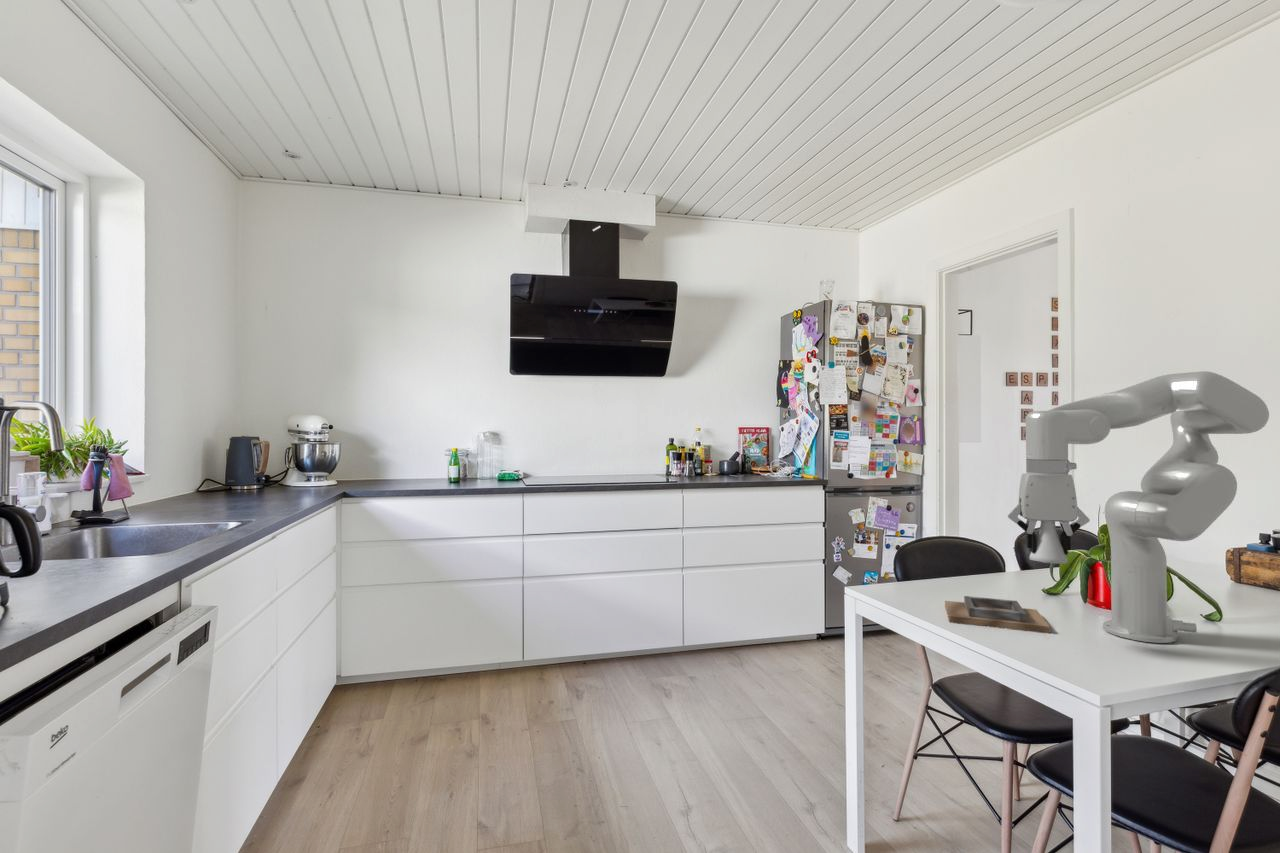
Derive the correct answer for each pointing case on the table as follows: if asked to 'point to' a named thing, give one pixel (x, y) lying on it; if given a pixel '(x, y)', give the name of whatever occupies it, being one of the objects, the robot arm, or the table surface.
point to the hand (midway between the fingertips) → (1048, 551)
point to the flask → (1048, 545)
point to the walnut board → (995, 614)
